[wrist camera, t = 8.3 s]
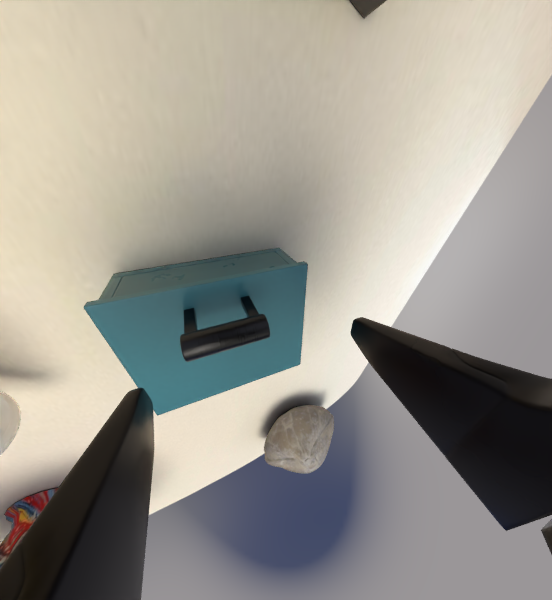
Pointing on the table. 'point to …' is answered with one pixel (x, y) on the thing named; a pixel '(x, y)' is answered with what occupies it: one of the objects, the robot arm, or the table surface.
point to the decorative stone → (300, 439)
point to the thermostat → (366, 6)
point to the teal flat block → (193, 272)
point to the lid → (206, 333)
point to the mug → (8, 420)
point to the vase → (23, 520)
